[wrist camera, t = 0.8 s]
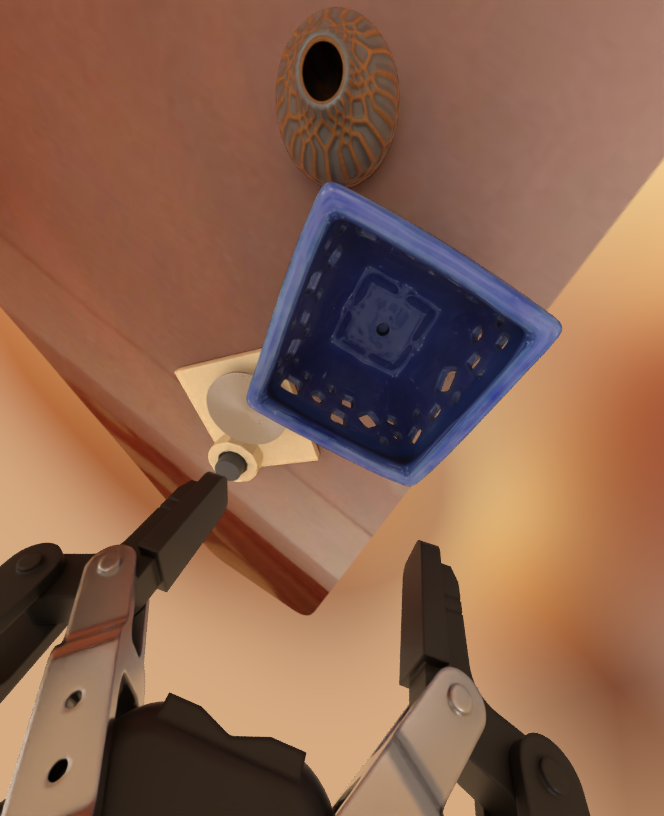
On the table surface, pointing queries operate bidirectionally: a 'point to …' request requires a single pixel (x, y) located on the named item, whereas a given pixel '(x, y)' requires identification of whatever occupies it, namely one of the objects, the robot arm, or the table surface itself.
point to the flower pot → (390, 339)
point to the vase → (337, 97)
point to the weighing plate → (239, 410)
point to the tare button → (230, 465)
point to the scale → (273, 453)
